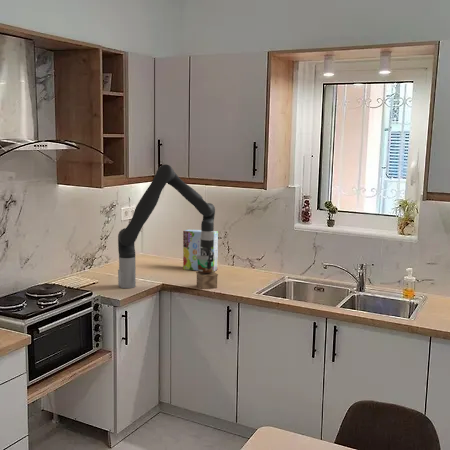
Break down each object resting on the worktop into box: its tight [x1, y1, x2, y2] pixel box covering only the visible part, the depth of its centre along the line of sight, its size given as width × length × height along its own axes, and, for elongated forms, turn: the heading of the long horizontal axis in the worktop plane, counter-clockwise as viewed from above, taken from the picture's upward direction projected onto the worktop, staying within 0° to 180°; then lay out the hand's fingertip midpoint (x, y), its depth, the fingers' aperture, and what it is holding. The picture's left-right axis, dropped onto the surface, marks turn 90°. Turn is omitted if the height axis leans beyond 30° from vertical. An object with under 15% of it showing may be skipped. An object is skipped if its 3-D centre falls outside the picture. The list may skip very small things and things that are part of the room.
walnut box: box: [195, 271, 219, 290], centre depth 325 cm, size 10×10×8 cm
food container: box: [196, 255, 215, 273], centre depth 323 cm, size 12×6×10 cm, turn 136°
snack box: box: [182, 228, 219, 272], centre depth 367 cm, size 22×9×26 cm, turn 70°
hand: (206, 267), depth 324 cm, fingers closed on food container, 6 cm apart
